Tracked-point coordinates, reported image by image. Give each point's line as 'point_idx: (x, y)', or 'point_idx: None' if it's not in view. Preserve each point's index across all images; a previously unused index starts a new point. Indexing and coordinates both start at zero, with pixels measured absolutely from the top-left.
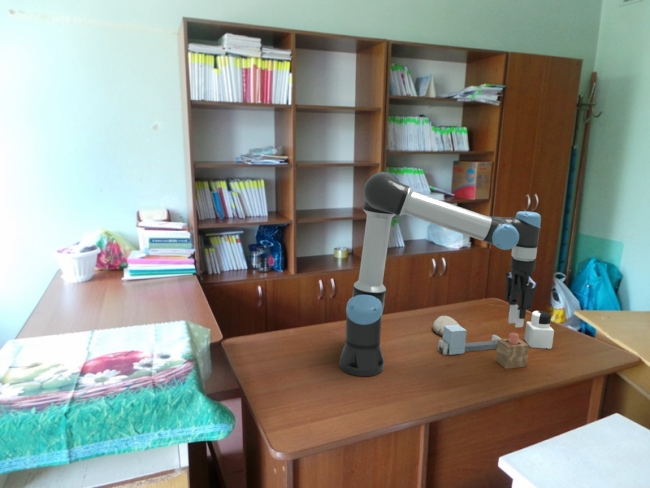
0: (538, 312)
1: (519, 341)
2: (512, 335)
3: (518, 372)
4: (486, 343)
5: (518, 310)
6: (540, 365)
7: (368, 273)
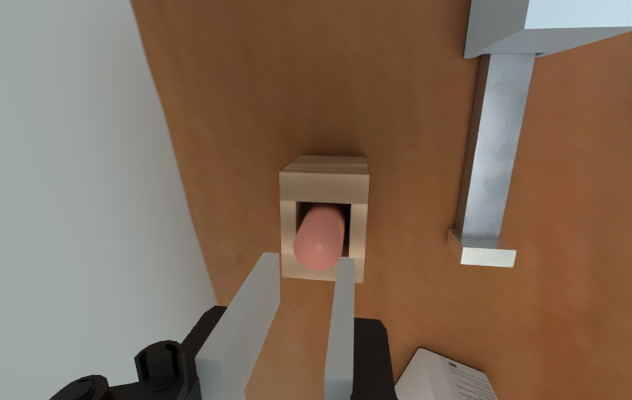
0: None
1: None
2: (304, 228)
3: (269, 180)
4: (482, 195)
5: (202, 348)
6: (298, 282)
7: None
